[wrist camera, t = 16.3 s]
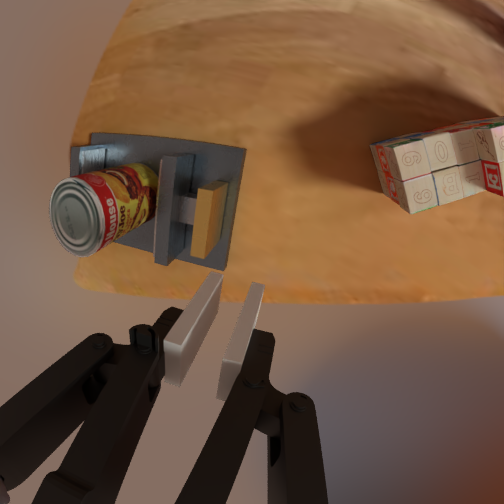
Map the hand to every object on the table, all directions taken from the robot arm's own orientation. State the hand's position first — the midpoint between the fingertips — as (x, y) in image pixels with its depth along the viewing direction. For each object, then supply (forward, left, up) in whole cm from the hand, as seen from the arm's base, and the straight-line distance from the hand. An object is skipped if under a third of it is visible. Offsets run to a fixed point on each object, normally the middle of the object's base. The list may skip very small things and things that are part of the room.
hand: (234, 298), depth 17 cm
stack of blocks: (+6, +24, -19) cm, 31 cm away
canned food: (-13, -11, -17) cm, 24 cm away
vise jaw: (-7, -5, -17) cm, 19 cm away
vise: (-11, -10, -18) cm, 24 cm away
